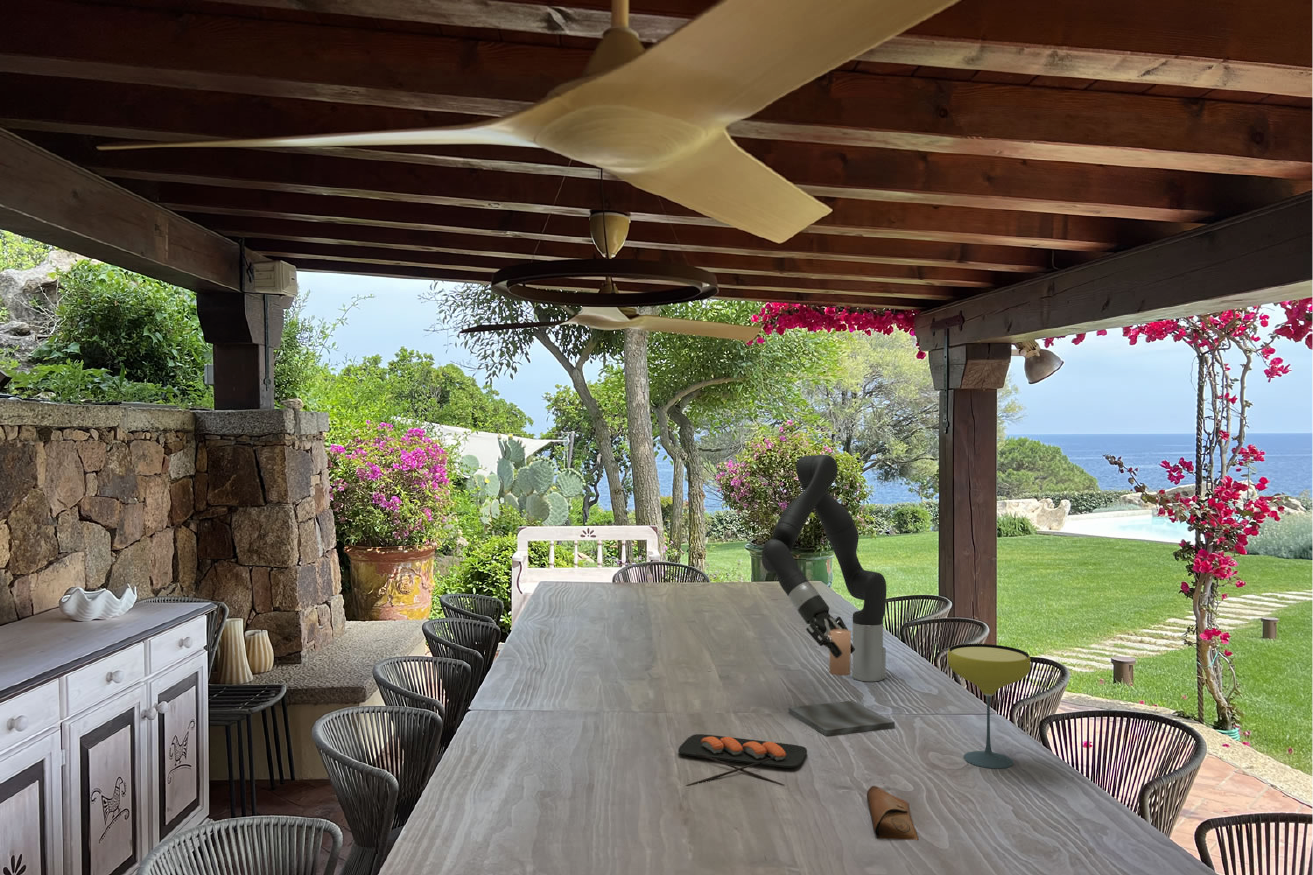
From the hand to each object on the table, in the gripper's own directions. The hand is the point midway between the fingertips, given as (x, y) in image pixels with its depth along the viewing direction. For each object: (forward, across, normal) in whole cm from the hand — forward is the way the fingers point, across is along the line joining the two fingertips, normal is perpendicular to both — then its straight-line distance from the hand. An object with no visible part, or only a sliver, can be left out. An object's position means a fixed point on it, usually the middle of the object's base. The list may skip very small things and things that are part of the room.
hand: (845, 653), depth 235 cm
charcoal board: (+11, 0, +14) cm, 18 cm away
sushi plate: (+13, -45, +13) cm, 49 cm away
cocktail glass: (+40, -1, -15) cm, 43 cm away
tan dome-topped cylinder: (+2, 0, +5) cm, 6 cm away
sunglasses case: (+41, -46, -15) cm, 63 cm away
